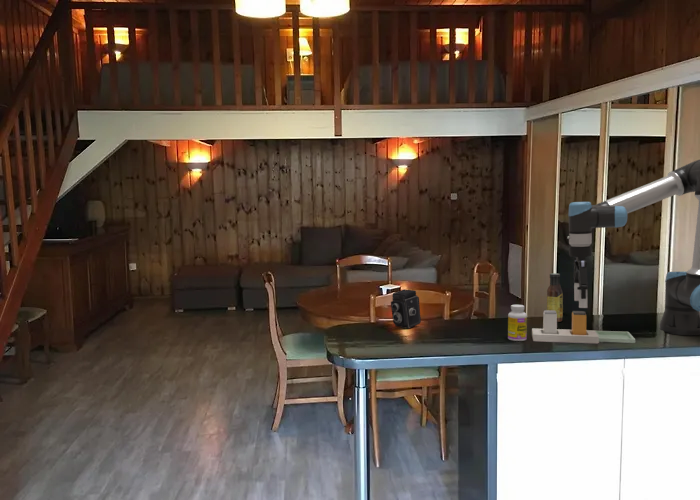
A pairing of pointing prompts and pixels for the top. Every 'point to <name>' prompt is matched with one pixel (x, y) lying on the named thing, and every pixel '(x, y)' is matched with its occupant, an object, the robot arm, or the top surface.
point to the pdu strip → (565, 336)
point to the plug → (578, 323)
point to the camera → (405, 309)
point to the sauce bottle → (555, 296)
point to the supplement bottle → (517, 323)
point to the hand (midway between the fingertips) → (580, 304)
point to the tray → (615, 336)
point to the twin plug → (549, 322)
